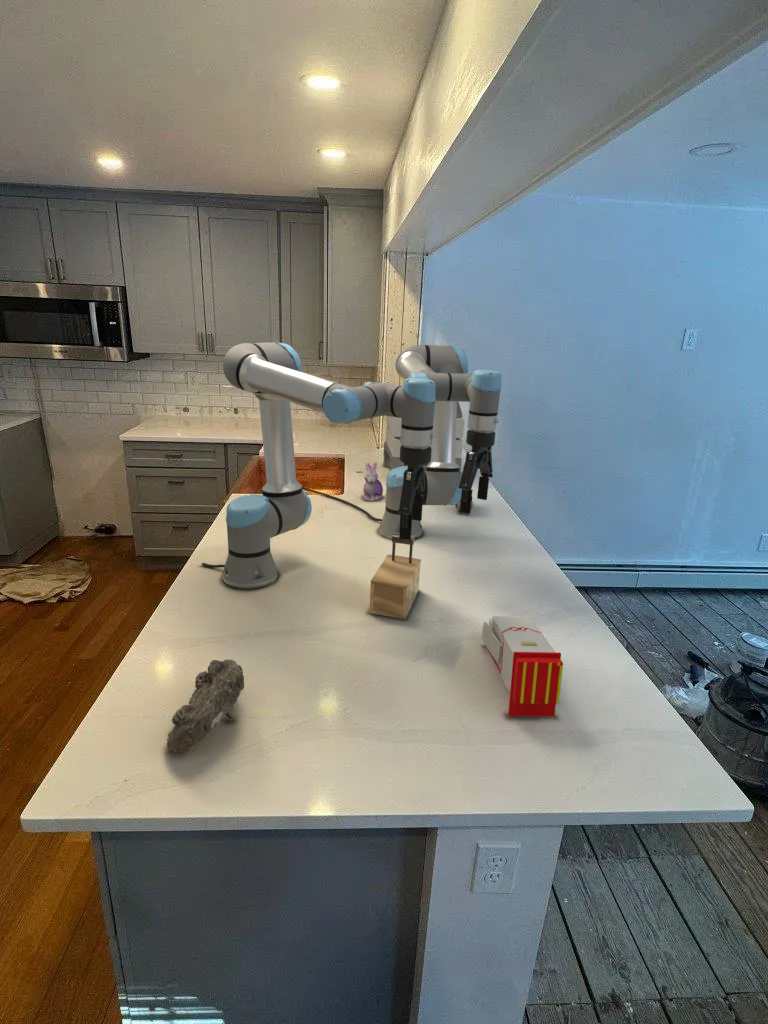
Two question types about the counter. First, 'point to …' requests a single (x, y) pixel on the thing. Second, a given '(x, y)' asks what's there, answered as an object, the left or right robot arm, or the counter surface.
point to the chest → (393, 598)
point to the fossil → (206, 705)
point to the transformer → (394, 444)
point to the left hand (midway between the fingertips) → (410, 528)
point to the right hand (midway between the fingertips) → (473, 505)
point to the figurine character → (460, 504)
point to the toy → (525, 665)
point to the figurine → (372, 484)
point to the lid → (397, 567)
